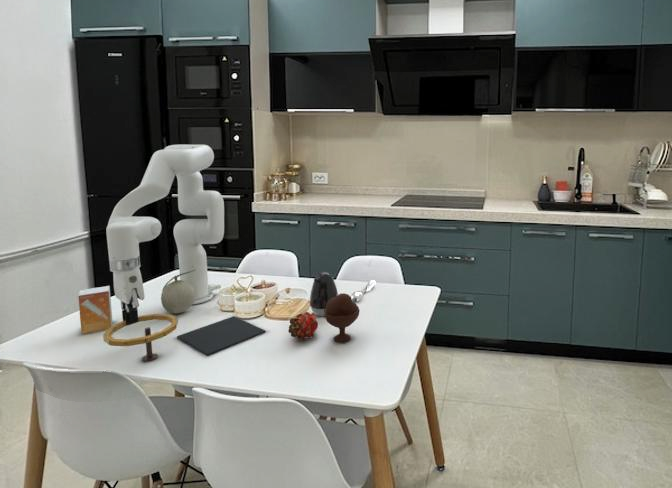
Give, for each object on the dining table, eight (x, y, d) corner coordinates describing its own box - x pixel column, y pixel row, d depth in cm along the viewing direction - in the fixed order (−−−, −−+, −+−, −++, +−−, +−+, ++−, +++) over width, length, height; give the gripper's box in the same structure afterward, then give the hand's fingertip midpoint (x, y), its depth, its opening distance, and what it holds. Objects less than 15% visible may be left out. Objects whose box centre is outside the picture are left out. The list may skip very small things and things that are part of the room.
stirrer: (368, 275, 184) (378, 276, 183) (368, 283, 185) (378, 284, 184) (348, 294, 165) (359, 295, 164) (348, 303, 166) (360, 304, 165)
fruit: (153, 316, 153) (149, 275, 151) (181, 304, 163) (178, 266, 162) (175, 320, 149) (172, 278, 147) (202, 308, 160) (199, 269, 158)
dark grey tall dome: (303, 316, 152) (302, 274, 150) (321, 305, 162) (319, 266, 160) (328, 321, 148) (327, 278, 147) (344, 309, 158) (343, 269, 156)
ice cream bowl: (365, 333, 139) (364, 288, 137) (349, 350, 128) (347, 301, 126) (336, 329, 142) (335, 285, 140) (317, 344, 132) (316, 297, 130)
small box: (81, 334, 139) (77, 295, 137) (83, 327, 144) (79, 289, 143) (112, 328, 143) (108, 290, 142) (113, 321, 148) (109, 285, 147)
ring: (161, 313, 139) (161, 309, 138) (188, 328, 128) (188, 323, 128) (95, 334, 124) (94, 329, 124) (118, 353, 114) (118, 347, 114)
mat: (233, 317, 152) (233, 316, 151) (265, 332, 140) (265, 330, 140) (177, 337, 136) (176, 336, 136) (207, 356, 125) (207, 354, 125)
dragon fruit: (293, 351, 131) (308, 339, 142) (316, 336, 130) (328, 324, 142) (278, 328, 131) (294, 317, 143) (300, 312, 131) (314, 302, 143)
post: (154, 353, 127) (152, 324, 126) (160, 357, 124) (158, 327, 123) (139, 359, 124) (136, 328, 123) (145, 363, 121) (142, 332, 120)
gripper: (150, 265, 127) (155, 324, 129) (129, 256, 136) (134, 311, 139) (120, 271, 121) (127, 334, 123) (100, 261, 130) (106, 320, 133)
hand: (130, 322), depth 131 cm, fingers closed on ring, 1 cm apart
